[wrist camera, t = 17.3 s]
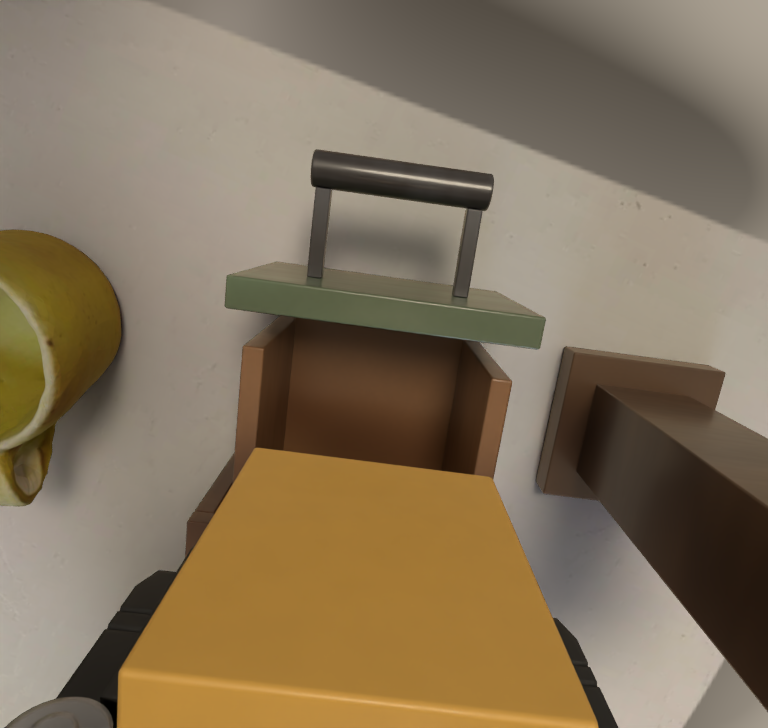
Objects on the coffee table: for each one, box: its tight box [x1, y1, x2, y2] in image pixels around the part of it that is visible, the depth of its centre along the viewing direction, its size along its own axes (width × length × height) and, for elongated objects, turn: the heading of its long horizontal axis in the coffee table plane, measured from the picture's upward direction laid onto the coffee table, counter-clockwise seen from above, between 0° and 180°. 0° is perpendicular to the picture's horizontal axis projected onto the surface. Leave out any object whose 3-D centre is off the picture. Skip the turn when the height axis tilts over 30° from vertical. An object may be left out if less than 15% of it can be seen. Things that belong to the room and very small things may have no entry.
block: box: [117, 448, 598, 728], centre depth 9 cm, size 5×5×6 cm
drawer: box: [225, 149, 546, 484], centre depth 25 cm, size 18×11×9 cm, turn 172°
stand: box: [536, 346, 768, 712], centre depth 20 cm, size 8×8×22 cm
